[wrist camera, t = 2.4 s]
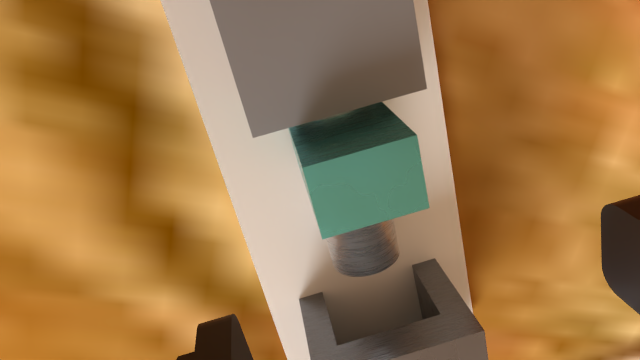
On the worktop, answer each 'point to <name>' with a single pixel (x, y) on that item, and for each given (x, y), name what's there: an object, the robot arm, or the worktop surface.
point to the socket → (405, 327)
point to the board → (291, 204)
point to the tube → (360, 183)
